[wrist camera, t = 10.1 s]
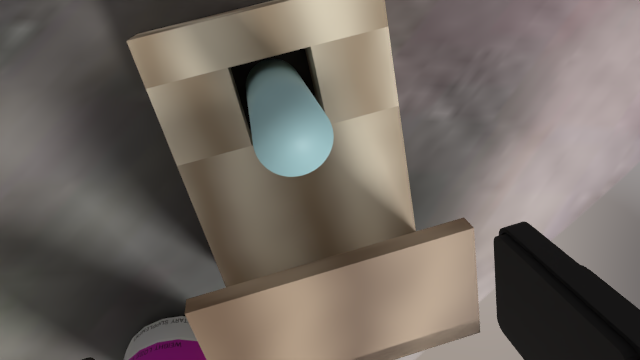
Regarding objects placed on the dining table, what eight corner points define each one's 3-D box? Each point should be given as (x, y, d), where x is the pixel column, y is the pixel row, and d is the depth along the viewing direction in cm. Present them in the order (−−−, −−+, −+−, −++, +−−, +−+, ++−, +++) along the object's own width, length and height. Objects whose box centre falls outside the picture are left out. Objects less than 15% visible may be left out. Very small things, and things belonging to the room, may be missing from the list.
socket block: (230, 272, 34) (231, 411, 23) (137, 33, 25) (70, 77, 15) (402, 221, 35) (480, 332, 24) (366, -23, 26) (458, -21, 16)
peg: (238, 66, 27) (242, 112, 18) (293, 52, 28) (324, 90, 19) (254, 120, 29) (265, 185, 20) (306, 106, 29) (340, 164, 20)
